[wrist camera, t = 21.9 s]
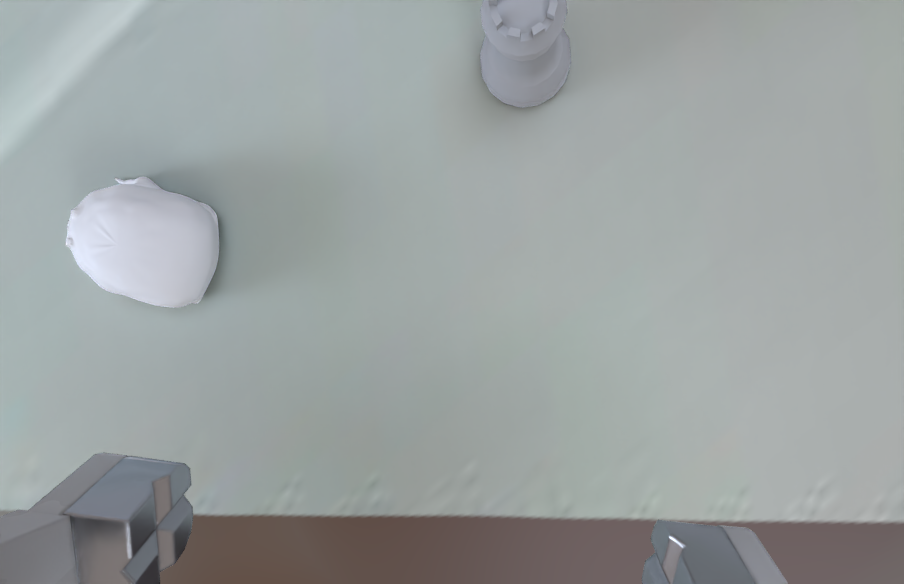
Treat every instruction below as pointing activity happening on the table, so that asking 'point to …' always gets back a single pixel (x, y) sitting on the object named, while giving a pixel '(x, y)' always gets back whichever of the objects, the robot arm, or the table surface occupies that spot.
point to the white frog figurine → (145, 242)
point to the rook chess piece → (524, 49)
